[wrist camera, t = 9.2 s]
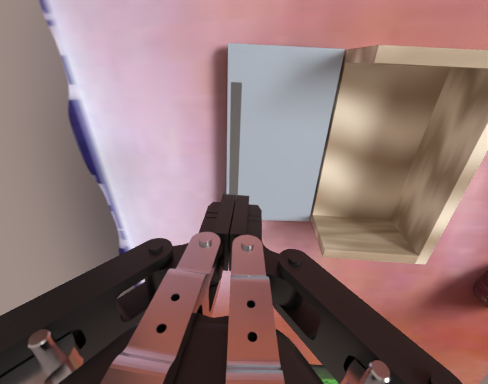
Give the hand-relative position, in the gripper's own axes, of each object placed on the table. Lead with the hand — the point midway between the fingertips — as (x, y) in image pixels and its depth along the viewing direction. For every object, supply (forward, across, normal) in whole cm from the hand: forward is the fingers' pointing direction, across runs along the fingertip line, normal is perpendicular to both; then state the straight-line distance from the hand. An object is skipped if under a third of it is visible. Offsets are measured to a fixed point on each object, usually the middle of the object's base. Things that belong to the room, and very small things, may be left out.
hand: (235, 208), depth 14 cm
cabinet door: (+13, -8, 0) cm, 15 cm away
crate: (+14, -13, 0) cm, 19 cm away
